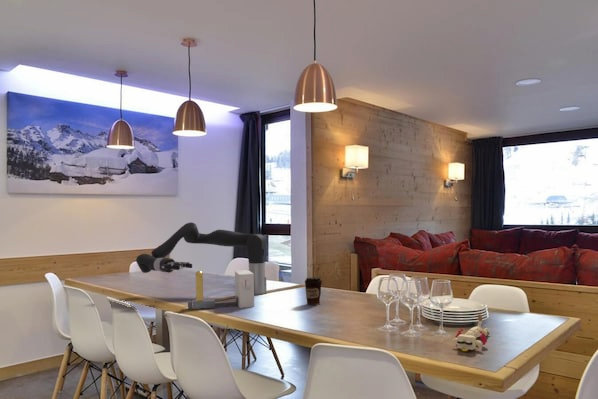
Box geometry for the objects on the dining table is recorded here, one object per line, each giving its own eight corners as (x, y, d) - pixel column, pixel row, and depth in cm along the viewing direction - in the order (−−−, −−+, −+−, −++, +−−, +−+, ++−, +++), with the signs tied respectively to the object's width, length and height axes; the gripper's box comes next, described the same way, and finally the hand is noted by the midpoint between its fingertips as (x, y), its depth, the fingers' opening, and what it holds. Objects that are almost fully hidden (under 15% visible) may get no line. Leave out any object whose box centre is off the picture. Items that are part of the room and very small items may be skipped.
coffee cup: (320, 306, 223) (320, 279, 224) (303, 306, 225) (303, 279, 225) (323, 302, 232) (322, 276, 232) (307, 302, 233) (306, 276, 234)
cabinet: (249, 301, 239) (248, 270, 240) (254, 307, 225) (253, 273, 226) (234, 302, 237) (233, 271, 237) (239, 308, 223) (238, 274, 223)
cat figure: (467, 336, 172) (447, 349, 151) (466, 312, 172) (447, 321, 152) (495, 340, 166) (479, 353, 146) (495, 315, 167) (479, 325, 146)
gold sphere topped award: (213, 304, 231) (212, 269, 231) (215, 307, 224) (214, 270, 224) (192, 306, 228) (192, 270, 228) (193, 309, 221) (193, 272, 221)
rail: (242, 303, 233) (241, 296, 233) (243, 305, 229) (243, 298, 230) (187, 308, 226) (187, 300, 226) (188, 310, 222) (188, 302, 222)
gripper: (175, 270, 253) (195, 272, 244) (153, 273, 241) (174, 275, 232) (174, 256, 253) (195, 258, 244) (153, 259, 241) (174, 260, 232)
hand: (185, 266), depth 238 cm, fingers open, 8 cm apart
